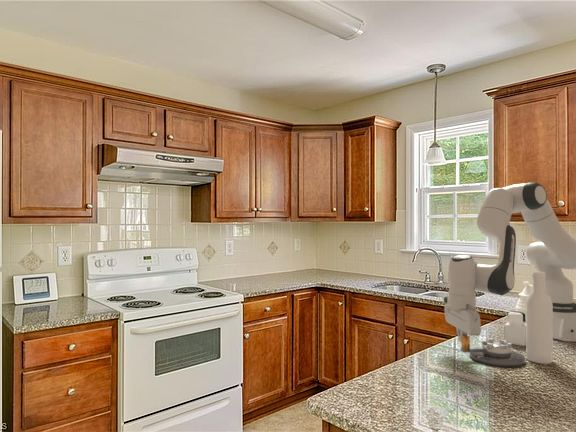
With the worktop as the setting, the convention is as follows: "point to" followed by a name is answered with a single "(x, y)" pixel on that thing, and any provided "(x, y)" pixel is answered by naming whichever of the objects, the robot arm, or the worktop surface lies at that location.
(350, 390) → the worktop surface
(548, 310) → the bottle
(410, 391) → the worktop surface
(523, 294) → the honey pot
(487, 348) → the crank handle dial
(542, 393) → the worktop surface
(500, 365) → the flange
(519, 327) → the medicine bottle
